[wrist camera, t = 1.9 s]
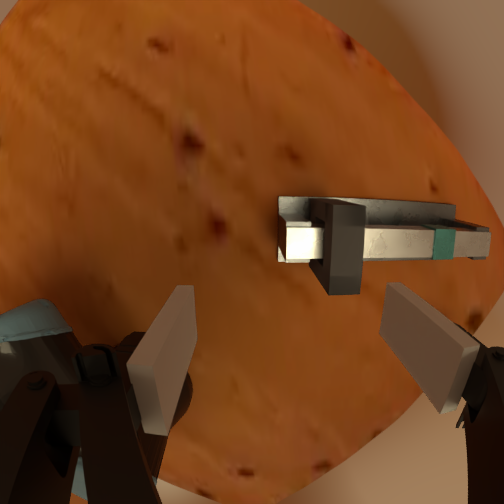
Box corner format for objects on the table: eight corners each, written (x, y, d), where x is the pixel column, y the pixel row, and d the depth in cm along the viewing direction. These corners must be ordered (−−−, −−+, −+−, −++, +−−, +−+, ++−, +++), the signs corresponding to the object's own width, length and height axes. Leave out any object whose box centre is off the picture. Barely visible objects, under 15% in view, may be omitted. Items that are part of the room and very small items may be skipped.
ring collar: (308, 265, 37) (328, 295, 27) (310, 198, 35) (333, 204, 25) (332, 265, 37) (359, 294, 27) (335, 198, 35) (366, 205, 25)
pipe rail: (277, 259, 40) (285, 284, 30) (278, 196, 38) (287, 201, 28) (447, 257, 40) (486, 276, 30) (452, 204, 38) (493, 212, 29)
